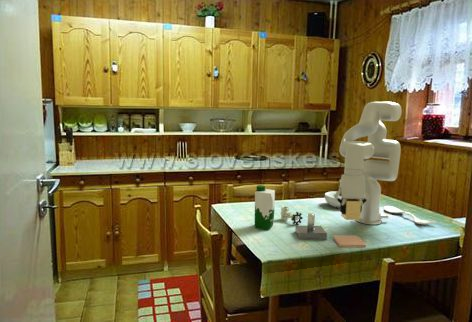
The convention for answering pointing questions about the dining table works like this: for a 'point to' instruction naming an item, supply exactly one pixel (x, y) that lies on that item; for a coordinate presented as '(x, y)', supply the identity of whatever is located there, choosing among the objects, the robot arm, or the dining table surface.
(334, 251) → the dining table surface
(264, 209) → the milk carton
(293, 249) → the dining table surface
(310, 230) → the grey base with post
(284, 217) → the valve
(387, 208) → the spoon
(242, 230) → the dining table surface
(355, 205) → the sleeve
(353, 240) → the tile
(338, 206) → the cereal bowl
